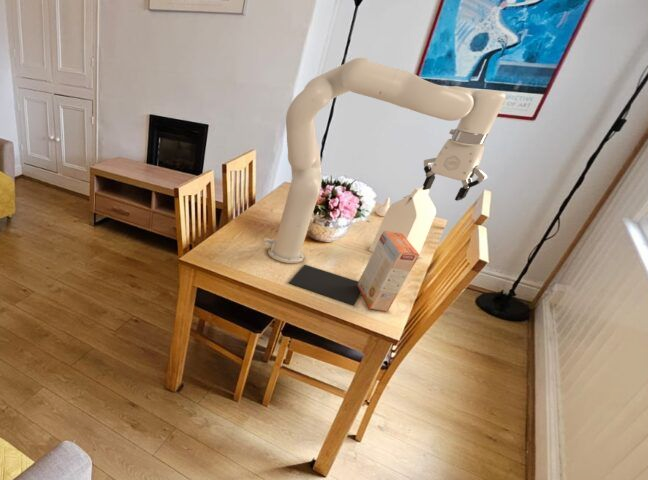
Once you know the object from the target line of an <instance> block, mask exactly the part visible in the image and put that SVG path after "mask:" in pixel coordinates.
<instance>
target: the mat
mask: <svg viewBox="0 0 648 480" xmlns="http://www.w3.org/2000/svg"><path fill="white" fill-rule="evenodd" d="M358 282H359V280H354V279H352V278H348V277H346V276H341V275H339V274H336V273H333V272H330V271H326V270H324V269H319V268H317V267H314V266H311V265H307V264H304V265H303V266H302V267H301V268H300V269H299V271H298V272H296V274H295V275H294V276H293V277H292V278H291V280H290V281H289V282H288V284H289V285H291V286H296V287H297V288H301V289H304V290H307V291H310V292H312V293H316V294H318V295H321V296H324V297H327V298H330V299H333V300H336V301H338V302H341V303H344V304H347V305H350V306H353V307H354V306H355V305H356V303H357V301H358V299H359V297H360V295H362V294H361V292H360V290H359V288H358V286H357V284H358Z"/></svg>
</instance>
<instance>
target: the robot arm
mask: <svg viewBox="0 0 648 480" xmlns="http://www.w3.org/2000/svg"><path fill="white" fill-rule="evenodd" d="M348 92H351V93H354V94H358V95H361V96H364V97H369V98H371V99H376V100H379V101H382V102H386V103H389V104H392V105H395V106H397V107H399V108H400V107H401V108H403V109H404V108H405V109H407V110H410V111H413V112H416V113H418V114H422V115H424V116H425V115H426V116H429V117H433V118H436V119H439V120H444V121H449V122H451V121H452V122H454V121H458V120H459V122H458V125H457V127H456V128H455V129H450V131H449V132H448V134H449V135H452V136H451V138H448V139H447V140H446V141H445V143H444V145H443V146H442V147H441V149H440V150H439V152H438V154H437V155H436V157H432V158H427V159H424V160H423V171H424V173H425V177H426V178H425V180H424V182H423V184H422V187H423V190H427V189H429V190H430V189H431V188H432V185H433V183H434V182H435V179H436V175H438V176H441V177H444V178H449V179H451V180H455V181H461V184H462V187H460V188H459V190H458V191H457V194H456V196H455V197H454V200H455V201H456V202H459V201H461V200H462V201H463V199H465V198H466V196H467V194H468V193H469V191H470V189H471V188H472V187H475V186H477V185H480V184H481V183H482V182H483V181H485V180H486V179H488V175H487V174H486V173H485V172H484V171H483V170H482V169H481V168H480V167H479V166H480V164H481V161H482V158H483V156H484V155H483V154H484V151H485V145H486V144H484V143H485V141H486V139H487V137H488V135H489V134H490V131H491V129H492V127H493V125H494V123H495V121H496V119H497V117H498V115H499V113H500V111H501V109H502V107H503V106H504V103H505V101H506V98H507V95H506V93H504V92H503V91H500V90H495V89H473V88H468V87H464V86H459V85H454V86H452V85H451V86H448V87H447V86H443V85H440V84H437V83H434V82H431V81H428V80H425V79H424V78H422V77H420V76H419V75H417V74H415V73H412V72H411V71H407V70H404V69H400V68H395V67H391V66H388V65H383V64H380V63H377V62H373V61H371V60H370V59H368V58H367V57H356V58H353V59H351V60H348V61H347V62H345V63H343V64H341V65H338V66H336V67H335V68H332V69H330V70H328V71H326V72H324V73H322V74H320V75H318V76H316V77H314V78H312V79H311V80H309V81H308V82H307V83H306V85H305V86H304V88H303V89H302V91H300V93H299V94H297V95H296V96H295V97H294V98H293V100H292V101H291V103H290V104H289V106H288V109H287V111H286V115H285V127H286V128H285V130H286V144H287V146H286V147H287V160H288V163H289V165H290V169H291V180H290V181H291V182H290V186H289V187H288V188H289V189H288V193H287V196H286V201H285V204H284V208H283V211H282V216H281V219H280V223H279V227H278V231H277V233H276V237H275V239H270V238H268V237H265V238H264V240H263V243H264V244H263V245H264V246H266V247H269V248H268V251H267V253H268V256H269V257H270V258H272V259H273V260H275V261H277V262H281V263H285V264H298V263H301V262H303V260H304V258H305V254H304V252H303V251H302V250H303V247H304V244H305V239H306V237H307V234H308V230H309V227H310V224H311V220H312V217H313V213H314V211H315V207H316V205H317V203H318V200H319V196H320V194H321V190H322V180H323V179H322V178H323V177H322V176H323V175H322V162H321V147H320V142H319V140H318V138H317V136H316V116H317V114H318V113H319V112H320V111H321V110H323V109H324V108H325V107H326V106H327V105H328V104H329V103H330V101H331V100H333V99H335V98H337V97H340V96H341V95H344V94H346V93H348ZM431 164H432V165H431ZM475 175H476V177H477V178H476V179H475V180H473V179H472V178H473V177H474V176H475Z"/></svg>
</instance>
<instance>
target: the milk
mask: <svg viewBox="0 0 648 480" xmlns="http://www.w3.org/2000/svg"><path fill="white" fill-rule="evenodd" d="M423 187H424V186H420V187H415V188H414V189H413V190H412V192H411V193H410V194H407V195H405V196H403V197H402V198H403V199H400V200H398V201H395V202H393V203H391V204H389V206H390V207H389V208H388V210H387V212H386V215H385V217H383V219H382V221H381V223H380V225H379V227H378V230H377V231H376V234H375V236H374V238H373V240H372V243H371V244H370V247H369V249H368V251H370V252H372V253H373V251H374V249H375V247H376V245H377V243H378V241H379V239H380V237H381V235H382V233H383V231H389V232H398V233H402V234H403V235H404V236H405V237H406V239H407V240H408V241H409V242H410V244H411V245H412V246H413V247H414V248H415V250H416V251H417V252H418V253H419V255H420V254H421V251H422V249H423V246H424V245H425V242H426V239H427V237H428V234H429V232H430V229H431V227H432V224H433V223H434V222H433V221H434V219H435V217H436V214H437V209H436V206H435V204H434V203H433V201H432V198H431V197H430V195H429V193H430V189H427V190H423Z"/></svg>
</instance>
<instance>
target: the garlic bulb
mask: <svg viewBox="0 0 648 480" xmlns="http://www.w3.org/2000/svg"><path fill="white" fill-rule="evenodd" d="M390 200H391V198H390V197H389V196H388V197H386V200H385V202H384V203H383V205H380V206H378V207H377V208H376V211H375V213H376V215H377V216H380V217H383V218H384V217H385V215H386V212H387V210H388V208H389V207H390V202H391V201H390Z"/></svg>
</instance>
